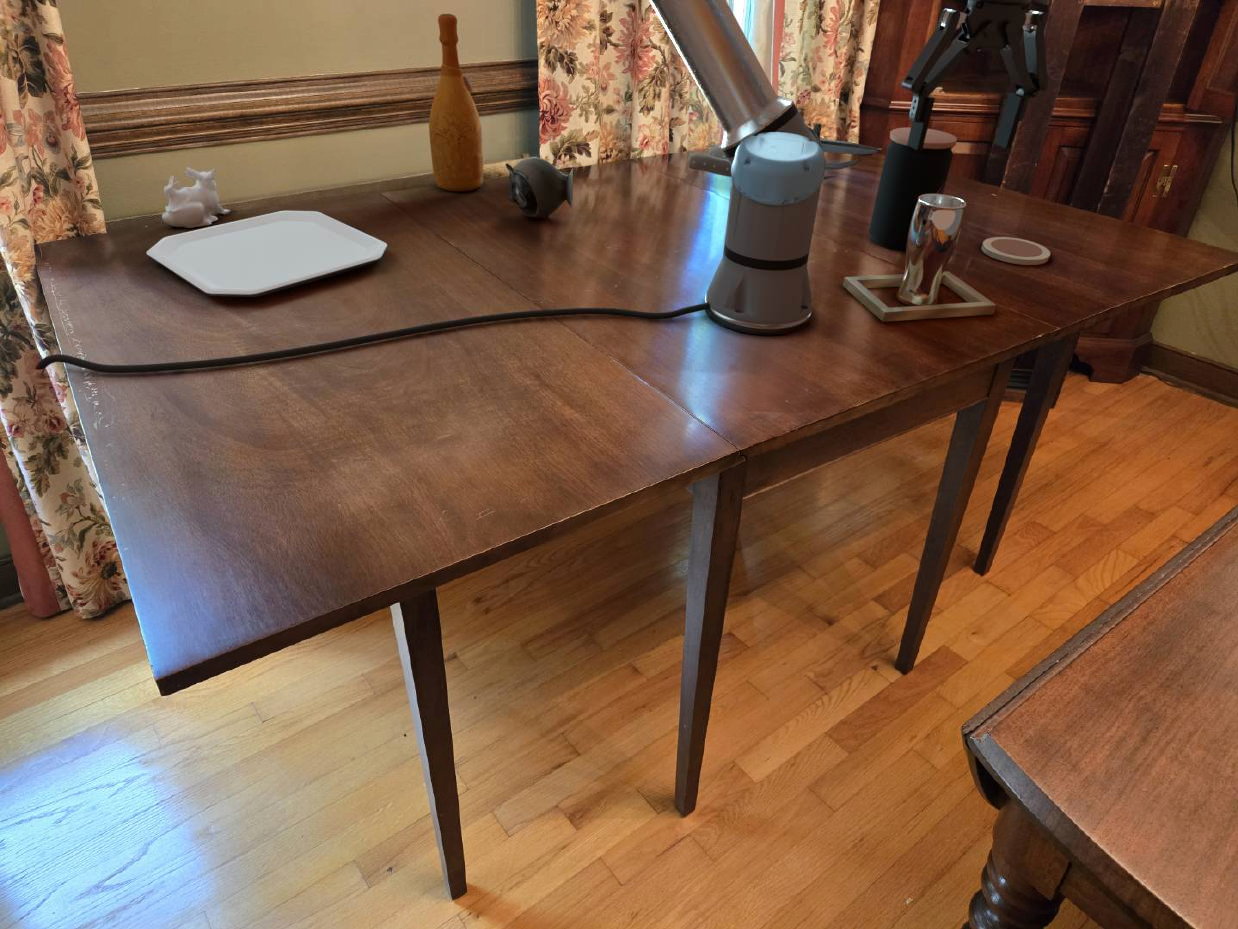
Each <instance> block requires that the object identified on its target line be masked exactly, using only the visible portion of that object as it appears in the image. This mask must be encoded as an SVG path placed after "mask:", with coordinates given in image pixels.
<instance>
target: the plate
mask: <svg viewBox="0 0 1238 929" xmlns="http://www.w3.org/2000/svg"><path fill="white" fill-rule="evenodd" d="M387 249H388V244H387V243H386V242H384V241H383V240H380V239H379V238H377V237H374V236H372V235H369V234H367V233H366V232H363V231H361V230H359V229H356V228H355V227H352V226H350V225H348V224H346V223H344V222H342V221H339V220H337V219H335V218H333V217H331V216H328V215H326V214H324V213H323V212H320V211H315V210H314V211H313V210H279V211H275V212H271V213H266V214H261V215H257V216H251V217H248V218H243V219H239V220H235V221H230V222H225V223H220V224H217V225H212V226H207V227H203V228H199V229H194V230H190V231H185V232H181V233H177V234H171V235H168V236H165V237H162V238H161V239H160V240H159V241H158V242H156V243H155V244H154V245H153V246H151V247H150V248H149V249H148V250H147V251H146V256H147V257H148V258H149V259H151V260H153V261H155V262H156V263H158V264H159V265H160V266H161V267H164V268H165V269H166V270H168V271H170V272H171V273H172V274H174V275H176V276H177V277H179V278H180V279H182V280H183V281H185V282H187V283H188V284H190V286H192V287H194V288H196V289H197V290H198V291H200V292H202V293H203V294H205V295H206V296H210V297H235V298H237V297H238V298H239V297H240V298H241V297H242V298H259V297H265V296H269V295H272V294H275V293H279V292H282V291H286V290H289V289H292V288H296V287H300V286H303V285H306V284H311V283H313V282H317V281H321V280H324V279H327V278H331V277H334V276H338V275H341V274H344V273H348V272H351V271H355V270H358V269H361V268H363V267H366V266H369V265H372V264H374V263H377V262H379V261H381V259H383V256H384V255H385V252H386V251H387Z"/></svg>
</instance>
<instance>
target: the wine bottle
mask: <svg viewBox="0 0 1238 929" xmlns="http://www.w3.org/2000/svg"><path fill="white" fill-rule="evenodd" d="M437 22H438V23H437V24H438V28H439V37H438V40H439V43H440V44H441V54H442V56H441V57H442V58H441V61H442V62H441V66H440V78H439V81H438V84H437V88H436V90H435V94H434V97H433V99H432V102H431V103H432V104H431V108H430V113H429V120H428V132H429V133H428V134H429V145H430V155H431V165H432V173H433V179H434V184H435V185H436V186H437V187H438V188H439V189H441V190H445V191H448V192H469V191H473V190H476V189H478V188H480V187H481V186H482V185H483V184H484V152H483V150H484V149H483V133H482V123H481V119H480V115H479V112H478V109H477V106H476V104H475V100H474V99H473V97H472V94H471V93H474V90H473V87H472V84H471V81H470V79H469V77H468V76H467V75H465V73H464V72H463V70H462V68H461V65H460V61H459V52H458V48H457V45H458V43H459V36H458V18H457V16H456V15H454V14H452V13H441V14H439V16H438V18H437Z"/></svg>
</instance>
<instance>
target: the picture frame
mask: <svg viewBox="0 0 1238 929" xmlns="http://www.w3.org/2000/svg"><path fill="white" fill-rule="evenodd" d="M903 277H904V273H897V274H894V273H893V274H879V275H878V274H877V275H876V274H875V275H862V276H861V275H860V276H859V275H858V276H844V279H843V285H842V287H843V288H845V289H846V290H847V291H848V292H849V293H850V294H851V295H852V296H853V297H854V298H855V299H857V300H858V301H859V302H860V303H861V304H862V305H864V306H865V308H867V309H868V310H869V311H870V312H871V313H872V314H873V315H874V316H875V317H877V318H878V319H879V320H880V321H881V322H882V323H883V322H884V323H885V322H899V321H900V322H901V321H913V320H915V321H916V320H929V319H947V318H959V317H961V318H962V317H975V316H987V315H989V316H990V315H995V310H996V308H997V304H996V303H995V302H993V301H991V300H990V299H989V298H987V297H986V296H984V295H983V294H982V293H980V292H979V291H977V290H976V289H974V288H973V287H972V286H970V285H968V284H967V283H966V282H964V280H962V279H961V278H959V277H957V276H956V275H955V274H953V273H951V271H944V272H943V275H942V277H941V280H940V284H939V285H944V286H945V287H947V288H948V289H950V291H952V292H953V293H954V294H956V295H957V296H959V297H960V298H961V299H963V300H965V301H966V302H958V303H943V304H942V303H941V304H936V305H925V306H896V307H895V306H894V307H889V306H888V305H887V304H885V303H884V302H883V301H882V300H881V299H879V298H878V297H877V296H876V295H875V294H874V293H873V292H871V291H870V290H869V289H879V288H896V287H898V288H899V287H900V285H901V283H902V280H903Z"/></svg>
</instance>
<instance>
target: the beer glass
mask: <svg viewBox="0 0 1238 929" xmlns="http://www.w3.org/2000/svg"><path fill="white" fill-rule="evenodd" d="M966 207H967V202H966V201H965V200H963V199H961V198H959V197H956V196H953V195H949V194H944V193H943V194H923V195H920V196H919V197H918V201H917V204H916V207H915V210H914V213H913V216H912V219H911V223H910V227H909V232H908V237H907V247H906V251H905V263H904V264H905V266H904V271H903V272H904V273H903V274H904V277H903V280H902V283H901V285H900V286H899V287H898V289H897V291H896V294H895V298H896V300H897V301H898V302H899V303H901V304H903V305H906V306H907V307H909V306H925V305H938V301H939V291H940V285H941V284H940V280H941V277H942V275H943V272H945V270H946V268H947V266H948V264H949V262H950V259H951V257H952V256H953V254H954V251H955V249H956V247H957V244H958V241H959V238H960V235H961V231H962V227H963V223H964V217H965V211H966Z"/></svg>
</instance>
